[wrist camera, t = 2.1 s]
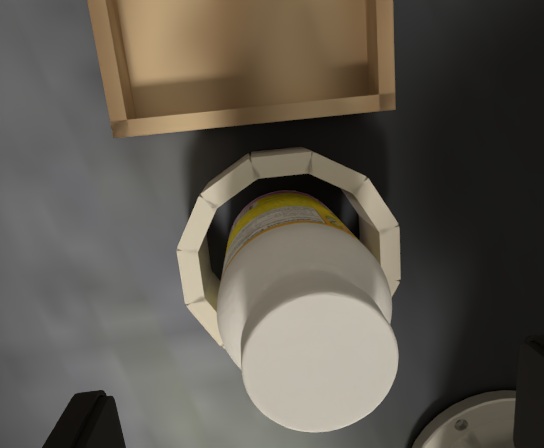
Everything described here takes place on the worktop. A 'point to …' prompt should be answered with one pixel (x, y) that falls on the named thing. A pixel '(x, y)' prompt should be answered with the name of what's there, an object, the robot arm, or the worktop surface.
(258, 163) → the holder
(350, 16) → the tray
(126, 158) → the worktop surface
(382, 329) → the supplement bottle
